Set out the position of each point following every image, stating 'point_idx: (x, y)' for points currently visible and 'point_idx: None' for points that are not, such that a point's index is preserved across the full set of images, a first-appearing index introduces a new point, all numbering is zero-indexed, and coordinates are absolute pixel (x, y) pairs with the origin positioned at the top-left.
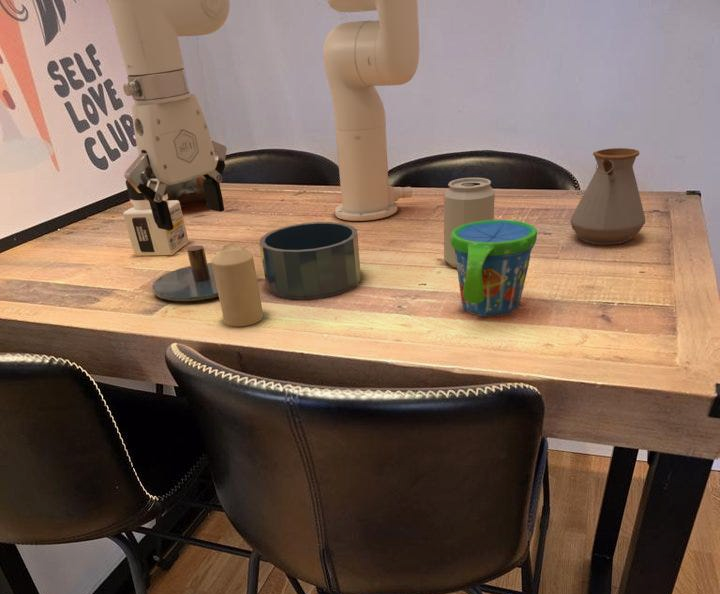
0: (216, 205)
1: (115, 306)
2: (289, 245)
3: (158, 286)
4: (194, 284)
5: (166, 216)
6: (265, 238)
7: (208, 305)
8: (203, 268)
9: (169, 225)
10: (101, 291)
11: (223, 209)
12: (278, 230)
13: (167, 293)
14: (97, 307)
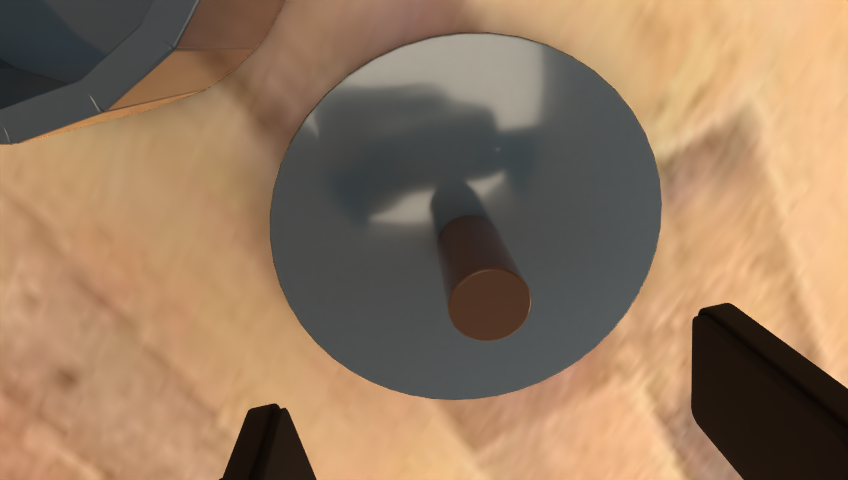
0: (287, 455)
1: (753, 289)
2: (20, 97)
3: (614, 294)
4: (522, 210)
5: (795, 358)
6: (148, 10)
7: (564, 23)
8: (476, 231)
9: (744, 315)
10: (693, 433)
11: (257, 407)
12: (5, 109)
13: (641, 199)
14: (786, 323)
